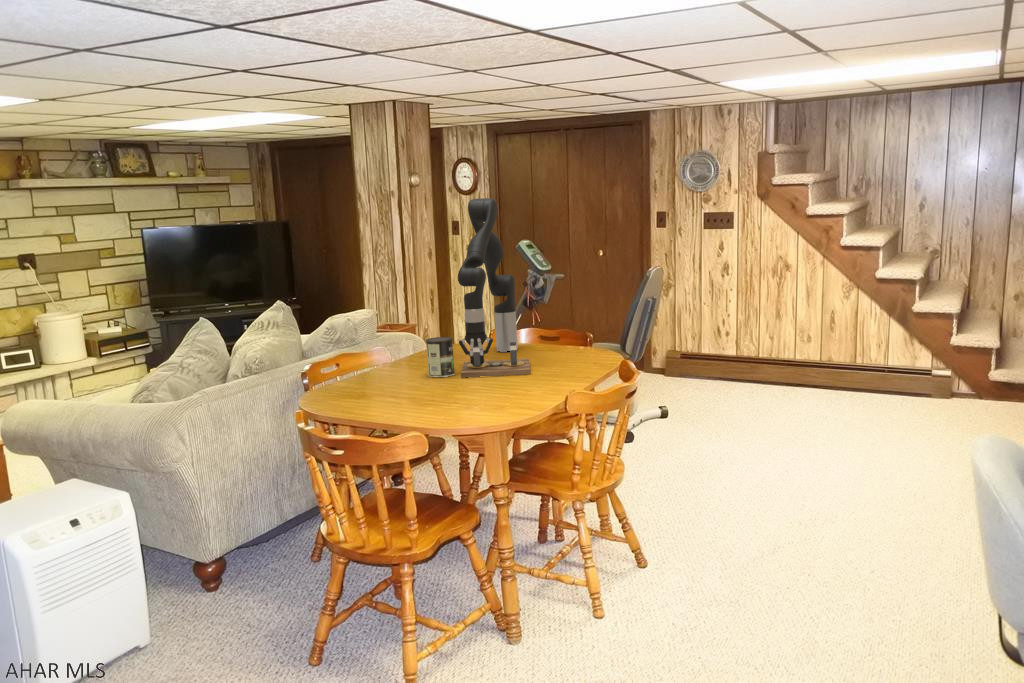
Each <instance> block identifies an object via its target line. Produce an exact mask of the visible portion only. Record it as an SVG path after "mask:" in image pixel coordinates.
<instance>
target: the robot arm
mask: <svg viewBox="0 0 1024 683" xmlns="http://www.w3.org/2000/svg"><path fill="white" fill-rule="evenodd" d="M467 211H468V217H469V220H470V222H471V225H472V228H473V230H474V232H475V235H473V237H472V238H471V240H470V241H469V243H468V246H467V252H466V255H465V256H466V257H465V259H464V261H463V262H462V264H461V265H460V266H461V267H460V268H459V270H458V273H457V283H458V284H459V286H462V287H466V288H467V287H475V289H474V290H473V291H471V292H468V293H465V294H464V296H463V302H464V312H463V313H464V318H463V319H464V331H465V334H464V338H462V339H459V341H458V344H459V346H460V347H461V349H462V351H463V353H464V354H465V356H466V355H468V356H469V358H470V359H469V360H470V361H469V362H471V364H472V365H473V366H474V355H473V348H474V347H476V346H477V347H479V349H480V365H482V363H484V361H485V359H484V358H485V355H486V354H488V353H489V351H490V349H491V347H492V344H493V342H494V339H493V337H491V338H490V337H488V336H487V334H486V325H485V322H486V321H485V311H484V300H483V297H484V296H483V295H484V288H485V284H486V282H487V281H488V282H487V283H488V288H489V292H490V294H491V295H492V296H493V297H506V299H505V300H504V301H503V302H501V303H498V304H495V306H494V308H493V310H494V324H495V325H494V326H495V343H496V344H495V345H496V352H498V351H500V352H499V353H508V352H507V351H510V342H516V349H518V348H519V346H518V332H517V329H518V328H517V312H516V280H515V277H514V275H512V274H497V273H496V272H497V269H498V267H499V266H500V265H501V262H502V261H503V258H504V249H503V244H502V241H501V238H500V237H499V236H498V235H496V233H495V232H493V230H494V227H495V224H496V220H497V219H498V218H497V217H498V204H497V201H496V199H495V198H491V197H490V198H487V197H485V198H483V197H482V198H472V199H470V200H469V201H468V205H467ZM483 265H484V267H485V270H484V268H483V267H481V266H483ZM486 279H487V280H486ZM485 342H486V343H487V345H486V347H485V349H484V347H483V345H484V343H485ZM466 343H467V344H468V345H469V350H468V348H467V347H466V345H465V344H466ZM518 350H519V349H518Z"/></svg>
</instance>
